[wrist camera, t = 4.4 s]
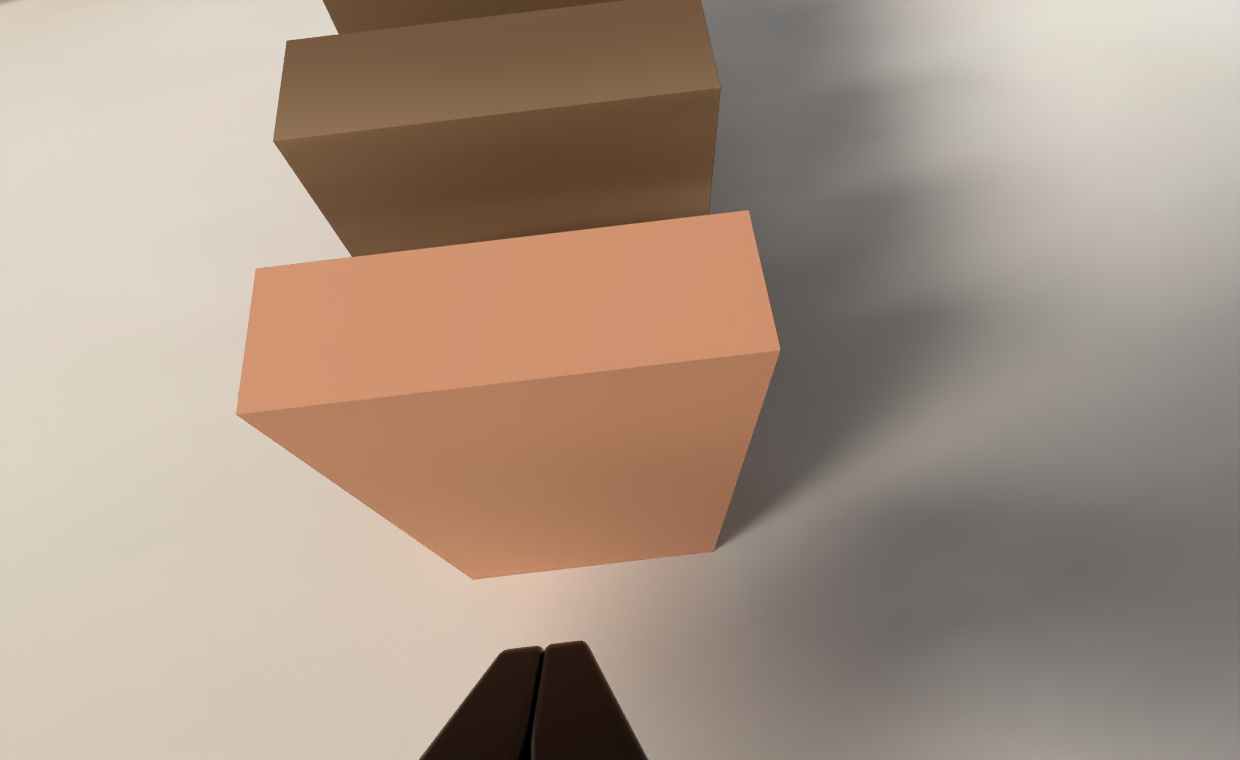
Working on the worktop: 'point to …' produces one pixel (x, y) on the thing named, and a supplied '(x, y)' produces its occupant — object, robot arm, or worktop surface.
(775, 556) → the worktop surface
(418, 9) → the walnut domino
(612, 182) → the walnut domino
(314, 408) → the terracotta domino
